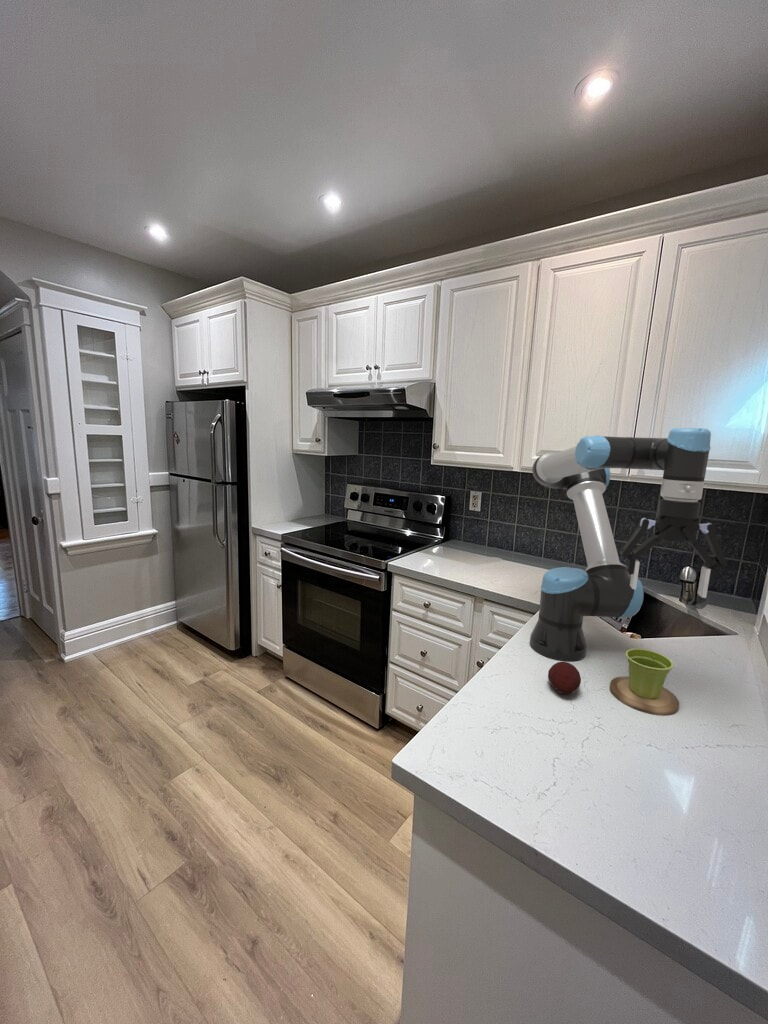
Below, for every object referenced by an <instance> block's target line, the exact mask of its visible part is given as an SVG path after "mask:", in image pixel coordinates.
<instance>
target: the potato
mask: <svg viewBox="0 0 768 1024" xmlns="http://www.w3.org/2000/svg"><path fill="white" fill-rule="evenodd" d="M547 678H548V681H549V683H550V684H551V687H553V689H555V690H556V691H557V692H559V693H560V694H563V695H571V694H573V693H575V692H576V691H577V690H579V687H580V686H581V683H582V681H581V680H582V678H581V673H580V671H579V670H578V669H577V667H576V666H575V665H574V664H572V663H571V662H569V661H558V662H556V663H553V665H552V666H551V667H550V668H549V669H548V673H547Z"/></svg>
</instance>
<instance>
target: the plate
mask: <svg viewBox="0 0 768 1024" xmlns="http://www.w3.org/2000/svg"><path fill="white" fill-rule="evenodd" d="M609 691H610V693H611V694H612V696H613V697H614V698H615V699H617V701H619V702H621V703H622V704H623V705H625V706H628V708H629V707H630V708H632V709H633V710H636V711H638V712H643V713H644V714H649V715H655V716H671V715H674V714H676V713H677V712H678V711H679V707H680V700H679V699H678V698H677V697H676V695H675V694H674V693H673V692H672V691H670V690H669V689H668V688H666V687H664V686H663V687H662V690H661V693H660V696H659V697H658V698H652V699H646V698H643V697H640V696H638V695H636V694H635V693H634V692H633V691H631V690H630V688H629V675H628V676H625V675H624V676H622V675H621V676H616V677H614V678H612V679H611V680H610V683H609Z"/></svg>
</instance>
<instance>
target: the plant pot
mask: <svg viewBox="0 0 768 1024" xmlns="http://www.w3.org/2000/svg"><path fill="white" fill-rule="evenodd" d="M625 656H626V658H627V663H628V676H629V688H630V690H631V691H633V692H634V693H635V694H636V695H638V696H640V697H643V698H646V699H652V698H658V697H659V696H660V693H661V690H662V687H664V683H665V681H666V678H667V675H668V674H669V672H670V671H671V669H673V667H674V663H673V661H672V660H671V659H670V658H669V657H667V656H665V655H663V654H661V653H659V652H655V651H653V650H650V649H645V648H644V649H643V648H630V649H628V650H626V651H625Z"/></svg>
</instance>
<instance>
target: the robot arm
mask: <svg viewBox="0 0 768 1024" xmlns="http://www.w3.org/2000/svg"><path fill="white" fill-rule="evenodd" d="M711 436H712V433H711V431H710V430H709V429H708V428H703V427H702V428H701V427H699V428H698V427H675V428H672V429H670V431H669V432H668V437H632V436H629V437H627V436H604V435H591V436H589V435H588V436H586V435H585V436H583V437H581V438H580V440H579V441H578V442H577V444H576V445H575V446H573V447H571V448H568V449H564V450H562V451H559V452H557V453H556V452H546V453H544V454H542V455H540V456H538V457H537V458H536V459H534V460H535V461H534V462H533V465H532V469H531V472H532V476H533V478H534V479H535V481H536V482H538V484H539V485H542V486H543V487H546V488H549V489H559V490H565V492H566V496H567V498H568V499H570V500H572V501H573V504H574V511H575V514H576V518H577V523H578V528H579V532H580V537H581V541H582V546H583V550H584V555H585V560H586V564H587V567H586V569H585V570H584V569H582V568H579V567H578V568H577V567H569V566H564V567H563V566H562V567H561V566H559V567H553V568H551V569H549V570H547V571H545V572H544V574H543V577H542V581H541V585H540V599H539V600H540V601H539V610H538V619H537V622H536V624H535V625H534V627H533V630H532V631H531V633H530V638H529V645H530V648H532V649H533V651H535V652H537V653H538V654H539V655H542V656H544V657H547V658H548V659H549V658H550V659H553V660H558V661H562V662H575V661H576V662H577V661H580V660H583V659H584V658H585V657H586V655H587V642H586V638H585V634H584V629H583V622H584V621H583V620H584V617H600V618H601V617H603V618H617V619H620V618H632V617H634V616H635V615H636V614H637V613H638V612H639V611H640V609H641V607H642V605H643V602H644V587H643V584H642V581H641V580H640V579H639V577H638V576H639V572H640V571H639V570H640V563H641V562H640V561H639V560H638V559H640V558H641V557H642V556H643V555H645V554H646V553H647V552H648V551H649V550H650V549H651V548H653V547H655V546H656V545H657V544H658V543H661V542H662V541H663V540H665V541H668V542H675V541H676V542H679V543H684V542H688V543H689V545H690V546H691V548H692V549H693V550H694V551H695V552H696V554H697V555H698V556H699V557H700V559H701V560H702V561H703V562H704V564H705V565H706V566H705V565H702V566H701V570H700V576H699V581H698V588H697V595H698V596H700V597H701V598H703V599H706V598H707V595H708V590H709V589H708V588H709V584H710V583H711V584H713V583H714V581H715V577H716V576H715V575H716V571H718V570H719V569H721V568H727V567H728V565H729V564H728V562H727V559H726V557H725V555H724V552H723V551H722V548H721V545H720V542H719V540H718V538H717V535H716V525H715V524H714V523H713V524H712V523H711V522H705V523H699V517H700V511H701V505H702V504H701V503H700V500H702V498H703V491H704V485H705V478H706V473H707V467H708V462H709V455H710V451H711V440H712V439H711ZM611 469H621V470H622V469H623V470H627V469H628V470H649V471H652V470H654V471H663V473H662V474H663V475H662V482H661V487H660V497H662V498H660V500H659V502H658V509H657V515H656V518H655V520H653V519H647V518H646V517H641V518H640V520H639V524H638V527H637V528H636V530H635V531H634V532H633V533H632V535H631V536H630V537H629V539H628V540H627V542H626V543H625V544H624V546H623V547H622V548H621V550H620V551H619V553H618V550H617V546H616V542H615V539H614V534H613V531H612V527H611V524H610V523H611V522H610V519H609V515H608V512H607V508H606V503H605V501H604V496H603V494H604V492H606V490H607V487H608V486H609V483H610V481H611V477H610V475H611ZM652 527H654V528H655V529H656V531H655V532H653V533H652V534H651V536H650V537H648V538H647V539H646V540H645V541H643V542H642V543H641V544H640V545H639V546H637V544H638V543H639V542H640V540H641V539H642V538H643V537H644V535H645V534H646V533H647V531H648V530H649V529H651V528H652ZM699 530H700V531H701V533H703V534H704V536H705V540H706V541H707V544H708V546H709V548H710V551H711V553H712V556H713V558H714V560H713V559H712V557H711V556H710V555H709V553H708V552H707V551H706V549H704V548H703V546H702V545H701V543H700V542H699V540H698V539H697V538H696V537H695V534H696V533H697V532H698V531H699ZM636 546H637V547H636ZM634 548H635V549H634ZM619 554H620V555H621V556H622V557H623V558H625V559H627V565H625V564H624V563H622V562H621V561H620V558H619ZM630 574H631V575H630Z"/></svg>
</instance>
